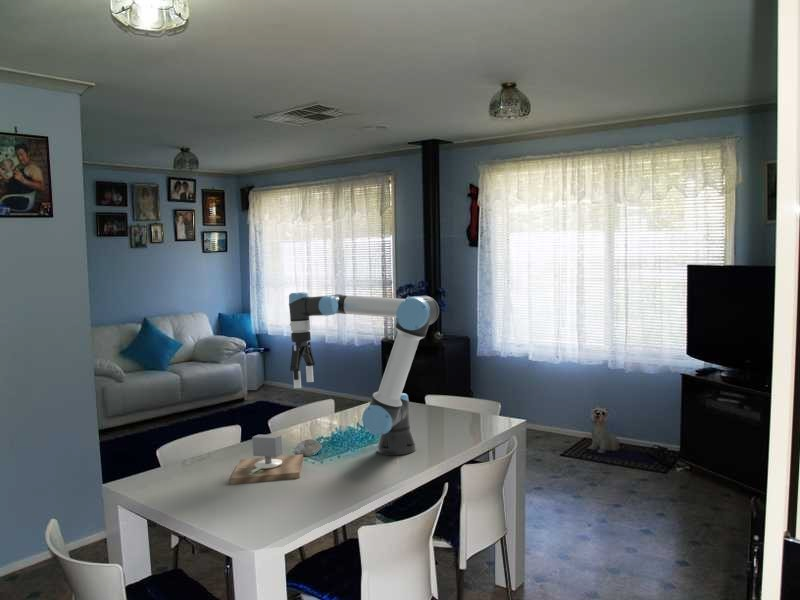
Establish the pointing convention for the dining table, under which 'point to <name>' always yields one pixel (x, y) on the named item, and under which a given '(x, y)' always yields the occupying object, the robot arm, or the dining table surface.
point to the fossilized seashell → (308, 448)
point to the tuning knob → (267, 450)
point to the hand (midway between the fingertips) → (304, 385)
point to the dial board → (267, 470)
